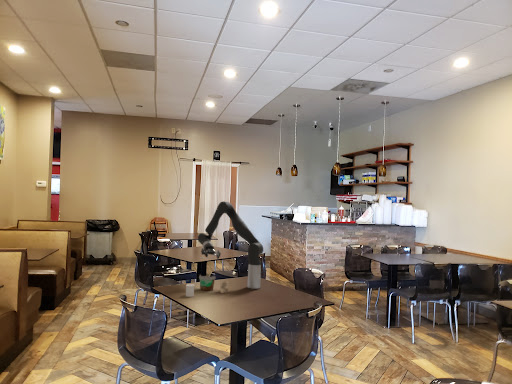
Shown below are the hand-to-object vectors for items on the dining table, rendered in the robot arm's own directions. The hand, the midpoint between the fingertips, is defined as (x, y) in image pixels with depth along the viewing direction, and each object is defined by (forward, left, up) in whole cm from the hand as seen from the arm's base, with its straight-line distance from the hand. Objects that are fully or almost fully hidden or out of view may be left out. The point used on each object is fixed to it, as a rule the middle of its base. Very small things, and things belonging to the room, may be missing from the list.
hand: (212, 256), depth 262 cm
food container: (+4, +8, -22) cm, 24 cm away
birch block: (-9, +12, -22) cm, 27 cm away
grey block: (+14, +24, -22) cm, 36 cm away
